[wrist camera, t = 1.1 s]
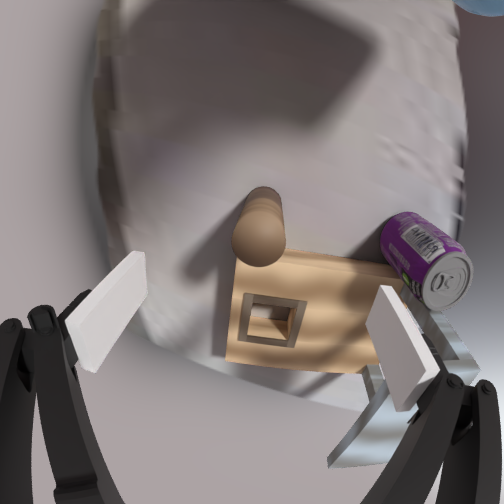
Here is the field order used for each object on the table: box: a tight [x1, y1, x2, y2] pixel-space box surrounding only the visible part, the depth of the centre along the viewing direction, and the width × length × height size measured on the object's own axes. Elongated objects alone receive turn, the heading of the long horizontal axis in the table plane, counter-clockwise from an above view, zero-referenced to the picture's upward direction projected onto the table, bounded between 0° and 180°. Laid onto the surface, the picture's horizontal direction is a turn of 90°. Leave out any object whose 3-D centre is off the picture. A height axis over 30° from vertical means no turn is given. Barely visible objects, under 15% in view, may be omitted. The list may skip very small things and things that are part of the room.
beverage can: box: [380, 212, 473, 311], centre depth 27 cm, size 7×7×12 cm
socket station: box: [225, 248, 481, 468], centre depth 28 cm, size 16×22×20 cm
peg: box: [231, 186, 286, 267], centre depth 26 cm, size 4×4×12 cm
